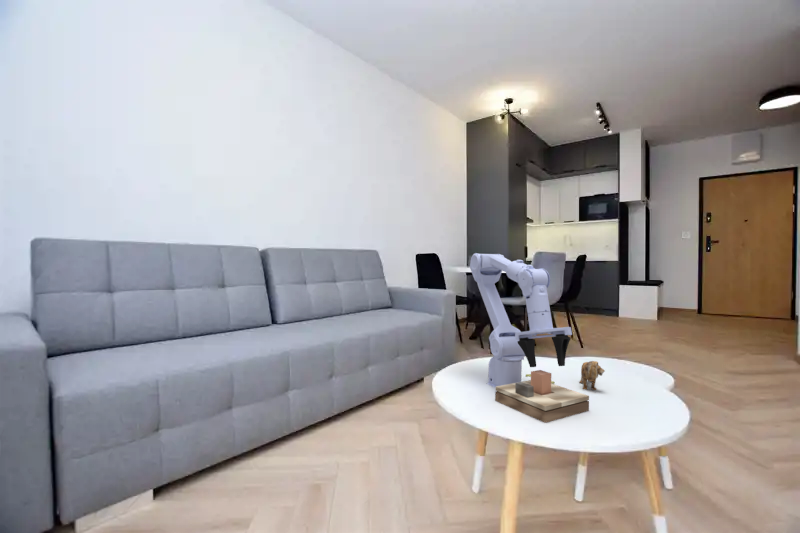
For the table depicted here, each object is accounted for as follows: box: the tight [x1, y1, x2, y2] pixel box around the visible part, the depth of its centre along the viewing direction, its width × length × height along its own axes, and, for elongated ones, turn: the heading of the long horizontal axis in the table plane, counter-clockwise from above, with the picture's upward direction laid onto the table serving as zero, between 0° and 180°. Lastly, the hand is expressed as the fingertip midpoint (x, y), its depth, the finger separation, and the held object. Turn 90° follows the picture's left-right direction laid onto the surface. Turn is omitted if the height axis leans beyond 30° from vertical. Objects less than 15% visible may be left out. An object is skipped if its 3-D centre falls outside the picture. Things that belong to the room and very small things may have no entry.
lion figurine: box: [578, 360, 606, 391], centre depth 116 cm, size 15×5×9 cm, turn 169°
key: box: [525, 373, 555, 384], centre depth 121 cm, size 7×12×2 cm, turn 17°
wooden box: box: [494, 390, 590, 424], centre depth 96 cm, size 16×16×3 cm
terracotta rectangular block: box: [530, 369, 552, 395], centre depth 96 cm, size 4×4×8 cm
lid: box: [494, 379, 590, 411], centre depth 96 cm, size 16×16×4 cm
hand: (547, 366), depth 95 cm, fingers open, 7 cm apart
